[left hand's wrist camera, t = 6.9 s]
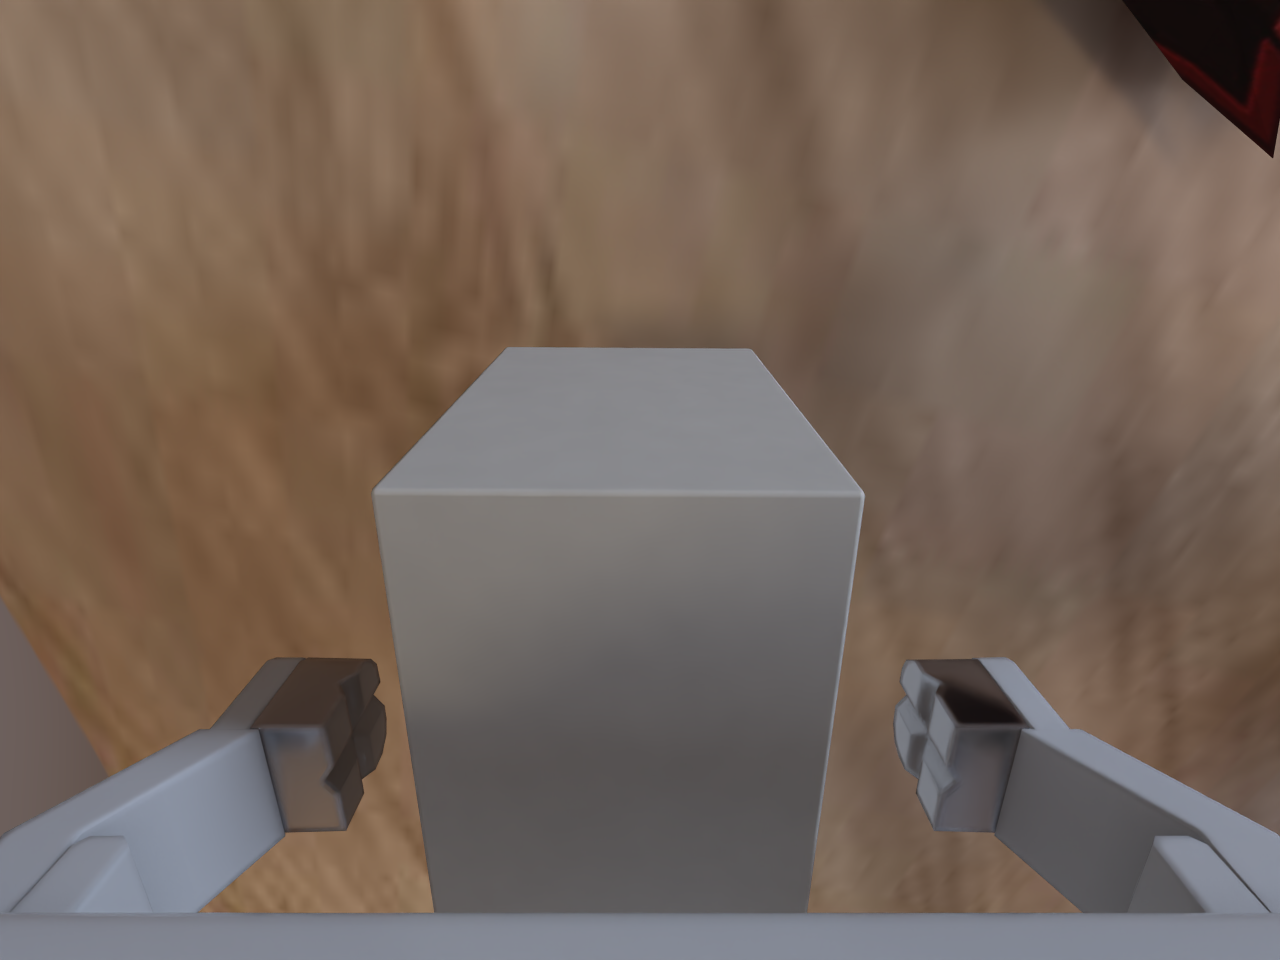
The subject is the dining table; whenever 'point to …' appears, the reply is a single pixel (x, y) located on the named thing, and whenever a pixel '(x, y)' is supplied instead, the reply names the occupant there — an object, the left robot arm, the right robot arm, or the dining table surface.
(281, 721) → the left robot arm
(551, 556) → the bar
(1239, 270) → the dining table surface
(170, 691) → the dining table surface
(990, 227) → the dining table surface
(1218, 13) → the toy
